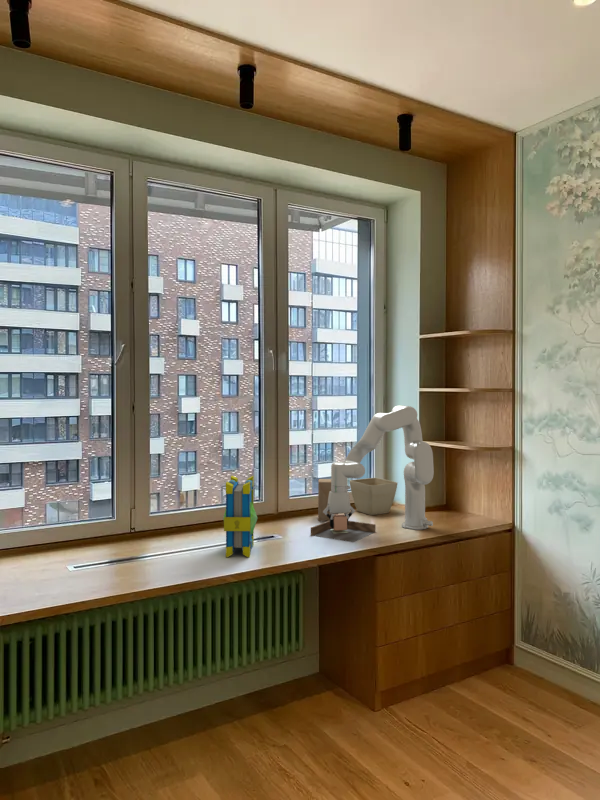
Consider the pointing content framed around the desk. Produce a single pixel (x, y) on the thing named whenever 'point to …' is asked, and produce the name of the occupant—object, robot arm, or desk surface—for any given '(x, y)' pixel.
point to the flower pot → (373, 495)
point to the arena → (344, 531)
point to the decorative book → (239, 516)
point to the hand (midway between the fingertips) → (339, 526)
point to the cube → (340, 522)
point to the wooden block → (323, 498)
